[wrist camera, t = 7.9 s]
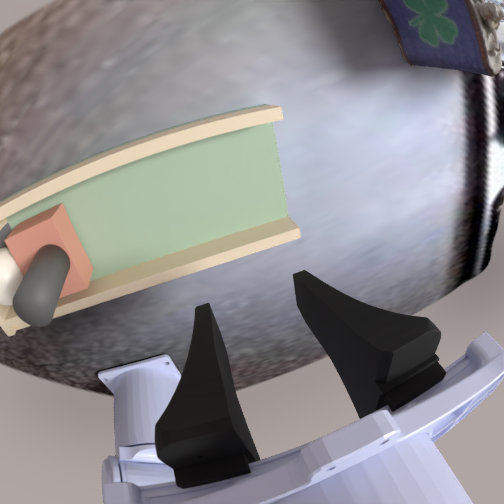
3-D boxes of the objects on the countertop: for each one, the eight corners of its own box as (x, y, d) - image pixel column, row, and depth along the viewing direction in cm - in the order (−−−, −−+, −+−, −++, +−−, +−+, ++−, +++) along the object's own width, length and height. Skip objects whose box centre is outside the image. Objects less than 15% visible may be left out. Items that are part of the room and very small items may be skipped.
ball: (37, 274, 19) (45, 294, 17) (1, 301, 17) (3, 326, 14) (14, 231, 17) (15, 244, 14) (-25, 259, 15) (-29, 278, 12)
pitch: (284, 220, 24) (303, 241, 21) (19, 309, 20) (8, 336, 17) (264, 104, 19) (284, 107, 16) (-32, 220, 15) (-53, 241, 12)
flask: (361, -27, 14) (467, -53, 6) (384, -31, 14) (486, -50, 5) (406, 69, 20) (514, 86, 11) (425, 60, 19) (527, 76, 11)
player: (93, 267, 19) (76, 339, 14) (50, 283, 19) (25, 353, 13) (62, 202, 17) (24, 258, 11) (18, 223, 16) (-27, 282, 10)
